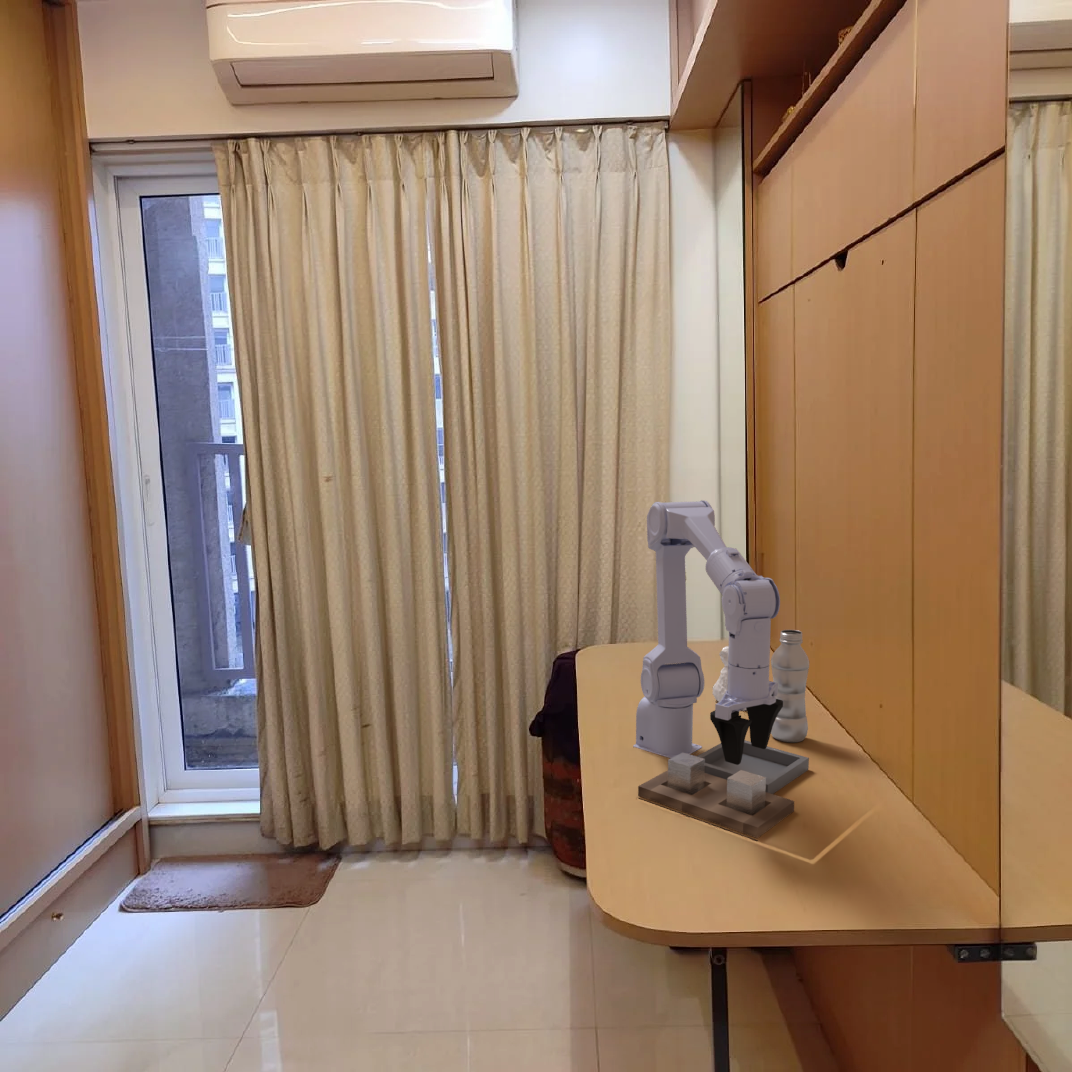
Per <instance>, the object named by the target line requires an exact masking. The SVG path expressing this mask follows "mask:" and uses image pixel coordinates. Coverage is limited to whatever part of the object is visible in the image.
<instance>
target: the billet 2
mask: <svg viewBox="0 0 1072 1072" xmlns="http://www.w3.org/2000/svg"><path fill="white" fill-rule="evenodd" d="M765 790H766V777H763V776H760V775H756V774H753V773H750V772H746V771H743V770H740V771H738V772H737V773H735V774H733V775H732V776H730V777H728V778H727V806H726V807H728V808H731V809H734V810H737V811H740V812H743V813H746V814H749V815H752V816H753V815H755V814H756V813H758V812H759V811H760V810H762V809H763V808H765Z"/></svg>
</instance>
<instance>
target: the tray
mask: <svg viewBox="0 0 1072 1072" xmlns="http://www.w3.org/2000/svg"><path fill="white" fill-rule="evenodd" d="M696 756H697V757H700V758H703V759H705V773H707V774H710V775H713V776H716V777H720V778H723V779H726V780H727V778H728V777H730V776H732V775H733V774H735V773H737V772H738V771H740V770H743V771H746V772H750V773H753V774H756V775H760V776H763V777H766V790H765V792H767V793H770V794H774V795H775V794H776V793H777V792H778V791H780V790H781V789H782V788H784V787H785V786H787V785H788V784H789V783H791V782H793V781H794V780H795V779H796V780H797V778H799V777H801V775H803V774H804V773H806V772H808V771H809V768H810V767H809V762H810V761H809V760H810V758H809V757H807V756H804V755H801V754H800V755H799V754H797V753H793V752H789V751H785V750H782V749H779V748H775V747H771V746H768V745H767V747H766V749H761V748H758V747H754V746H752V745H751V740H750V741H749V740H746V739H745V741H744V747H743V755H742V760H741V763H740V764H739V765H736V764H733V763H729V762H726V761H725V758H724V753H723V749H722V745H721V742H720V743H718V744H717V745H715V746H713V747H710V748H709V749H707V750H706V751H703V752H702V753H700V754H697V755H696Z"/></svg>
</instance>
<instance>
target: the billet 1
mask: <svg viewBox="0 0 1072 1072" xmlns="http://www.w3.org/2000/svg"><path fill="white" fill-rule="evenodd" d="M697 756H698V755H693V754H687V753H683V752H682V753H680V754H678V755H676V756H675V757H673V758H668V760H667V765H668V766H667V770H668V787H669V788H672V789H675V790H678V791H681V792H684V793H687V794H690V795H693V794H695V793H696V792H698V791H700V790H701V789H703V788H704V777H705V759H703V758H700V757H697Z"/></svg>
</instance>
